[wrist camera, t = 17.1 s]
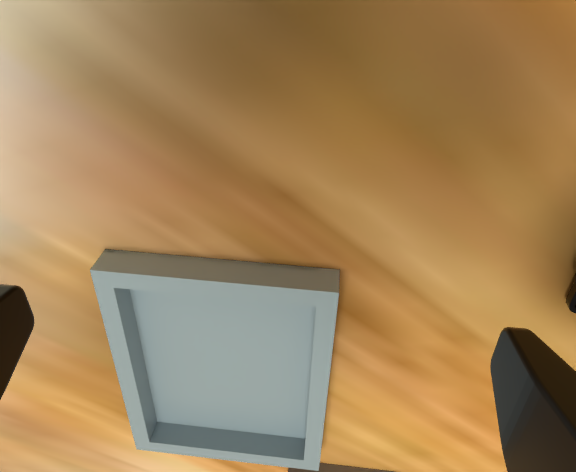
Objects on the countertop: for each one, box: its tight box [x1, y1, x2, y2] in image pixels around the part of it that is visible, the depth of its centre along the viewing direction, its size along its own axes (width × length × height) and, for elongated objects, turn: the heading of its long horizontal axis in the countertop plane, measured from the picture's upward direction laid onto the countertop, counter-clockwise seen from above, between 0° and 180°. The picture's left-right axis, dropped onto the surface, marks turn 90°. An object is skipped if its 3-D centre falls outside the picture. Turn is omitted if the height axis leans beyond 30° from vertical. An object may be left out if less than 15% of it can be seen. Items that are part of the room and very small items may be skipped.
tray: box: [90, 249, 340, 471], centre depth 28 cm, size 12×15×2 cm
